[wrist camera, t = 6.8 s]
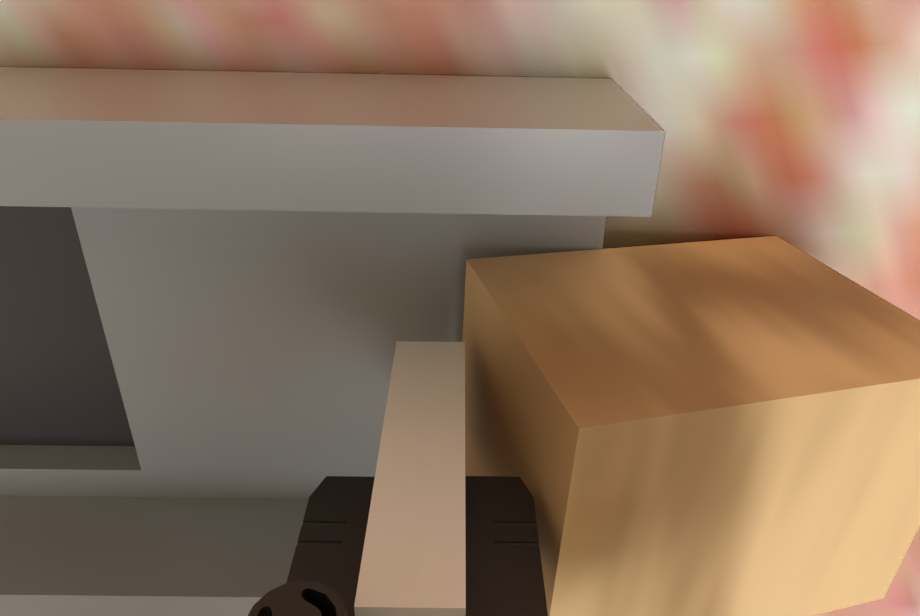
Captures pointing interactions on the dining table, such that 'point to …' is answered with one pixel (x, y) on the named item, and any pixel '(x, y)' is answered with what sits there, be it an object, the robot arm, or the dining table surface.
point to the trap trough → (249, 298)
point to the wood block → (697, 425)
